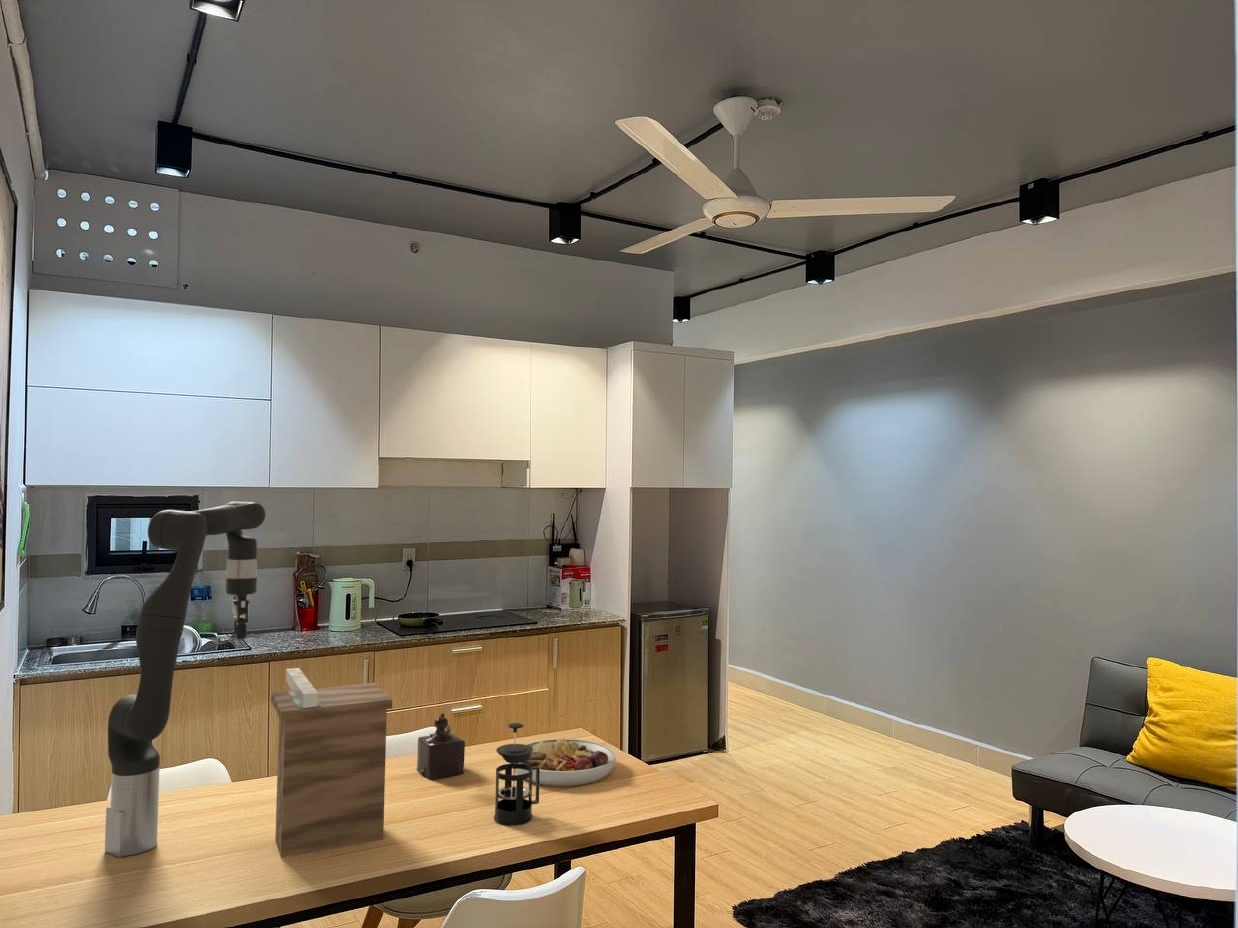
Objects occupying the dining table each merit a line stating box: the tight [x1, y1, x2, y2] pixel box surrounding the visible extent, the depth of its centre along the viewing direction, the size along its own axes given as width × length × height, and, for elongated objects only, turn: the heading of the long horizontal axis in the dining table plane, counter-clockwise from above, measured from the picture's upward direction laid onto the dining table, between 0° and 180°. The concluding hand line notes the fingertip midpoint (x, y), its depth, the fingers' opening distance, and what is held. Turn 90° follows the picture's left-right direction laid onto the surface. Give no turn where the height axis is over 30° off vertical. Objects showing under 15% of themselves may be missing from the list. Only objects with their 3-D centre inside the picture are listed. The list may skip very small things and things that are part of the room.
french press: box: [493, 722, 540, 827], centre depth 205 cm, size 12×9×23 cm
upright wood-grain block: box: [270, 682, 393, 859], centre depth 193 cm, size 18×24×32 cm
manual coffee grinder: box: [416, 712, 466, 780], centre depth 235 cm, size 16×11×18 cm
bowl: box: [515, 737, 616, 787], centre depth 240 cm, size 30×30×8 cm
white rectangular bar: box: [285, 667, 318, 708], centre depth 196 cm, size 28×3×3 cm, turn 29°
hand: (239, 636), depth 223 cm, fingers open, 8 cm apart
